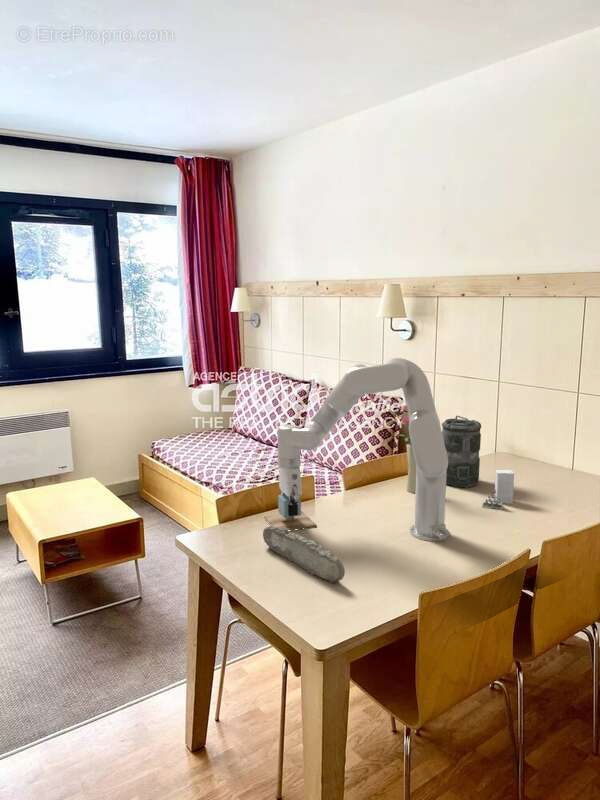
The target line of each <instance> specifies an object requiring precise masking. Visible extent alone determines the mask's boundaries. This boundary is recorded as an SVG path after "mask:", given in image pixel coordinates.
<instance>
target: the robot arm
mask: <svg viewBox="0 0 600 800" xmlns="http://www.w3.org/2000/svg"><path fill="white" fill-rule="evenodd" d="M400 389H401V390H402V392H403V396H404V401H405V405H407V409H408V410H407V414H408V416H409V426H408V428H409V431H408V434H410V435H409V440H410V439H411V440H410V444H411V443H412V447H413V452H414V456H415V460H416V493H415V499H414V500H415V501H414V503H415V505H414V524H413V525H412V526H410V528H409V534H410V535H411V536H412V537H414V538H415V539H418V540H421V541H426V542H440V541H444V540H447V539H448V538H449V537H450V532H449V529H448V528H447V527H446V524H445V521H446V520H445V519H446V516H445V515H446V495H447V494H446V492H447V485H446V470H447V467H448V455H447V450H446V448H445V445H444V440H443V436H442V427H441V421H440V419H439V416H438V413H437V410H436V406H435V401H434V397H433V392H432V389H431V386H430V383H429V380H428V378H427V376H426V373H425V372H424V371H423V370H422V368H421V367H420V366H419V365H418V364H416V363H414V362H413V361H411V360H409V359H406V358H401V357H394V358H391V359H389V360H388V361H386V362H385V363H381V364H377V365H371V366H370V365H369V366H368V365H367V366H366V365H365V364H361V363H360V364H359V363H357V364H354V365H353V366H351V367H349V369H348V370H347V371H346V373H345V374H344V375H343V377H342V378H341V379H340V380H339V381H338V383H337V384H336V385H335V387H334V388H332V389H331V392H330V393H329V394H328V395H327V396H326V398H325V400H324V402H323V404H322V405H321V407H320V408H319V409H318V410H317V412H316V413H315V414H314V416H313V417H312V418H311V419H310V420H309V422H308V423H307V424H306V425H305V426H304V427H303V428H300V427H299V426H297V425H296V424H283V425H280V426H279V427H278V428H277V466H278V469H279V471H278V485H279V490H280V492H281V493H280V495H285V494H286V495H287V496H288V497H289V504H290V505H288V515H289V516H295V515H298V501H299V498H300V496H302V494H303V493H302V477H301V475H302V474H301V469H300V466H301V450H304V451H310V452H311V451H315V450H316V449H318V448H319V446H320V445H321V443H322V442H323V440H324V439H325V438H326V436H327V435H328V434H329V433H330V432H331V430H332V429H333V428H334V426H336V424H337V423H338V422H339V421H340V420H341V419H342V418H344V417H346V415H347V414H348V413H349V412H350V411H351V410H352V409H353V407H354V405H356V404H357V402H358V401H359V400H360V399H361V397H362V396H363V395H370V394H371V395H372V394H377V393H384V392H385V393H386V392H393V391H397V390H400ZM291 494H294V495H292V496H291ZM291 497H294V499H292V500H291Z"/></svg>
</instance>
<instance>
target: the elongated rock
mask: <svg viewBox="0 0 600 800" xmlns="http://www.w3.org/2000/svg"><path fill="white" fill-rule="evenodd" d="M262 537H263V542H264V543H265V544H266V545H267V546H268V548H269V549H271V550H272V551H273V552H274V553H276V554H278V555H280V556H282V557H283V558H285V559H287V560H288V561H289V562H292V561H293V562H292V563H293V564H295V565H297V566H298V567H300V568H301V569H304V570H306V571H307V572H308V573H310V575H311V576H317V577H319V578H320V579H323V580H325V581H327V582H330V583H331V584H333V583H336V582H339V581H341V580H343V579H344V577H345V574H346V573H345V572H346V570H345V567H344V563H342V561H341V560H340V558H338V556H336V555H335V554H334V553H332V551H331V550H329V549H327V548H326V547H325V546H323V544H322V545H321V544H320V543H318V541H316V540H313V539H310V538H306V537H304V536H302V535H299V534H296V533H295V532H293V531H288V530H283V529H282V528H279V527H275V526H271V525H269V526H266V527H265V528H264V529H263V530H262Z"/></svg>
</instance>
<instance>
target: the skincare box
mask: <svg viewBox="0 0 600 800" xmlns="http://www.w3.org/2000/svg"><path fill="white" fill-rule="evenodd" d="M494 479H495V480H494V481H495V482H494V489H495V491H496V497H498V498H499V500H500V501H501V502H502V504H507V505H509V504H510V505H511V504H514V491H515V490H514V486H515V485H514V484H515V472H514V471H513V470H511V469H496V470H495V477H494ZM495 491H494V492H495ZM498 498H495V499H496V500H497V501H499V500H498Z"/></svg>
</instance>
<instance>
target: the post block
mask: <svg viewBox="0 0 600 800" xmlns="http://www.w3.org/2000/svg"><path fill="white" fill-rule="evenodd" d="M263 518H265V519H266V520H267V521H268V522H269V523H270V524H271V525H272V526H275V527H279V528H282V529H283V530H295V529H301V530H304V529H303V528H307V529H311V527H313V528H317V526H318V525H317V524H316V523H315V522H314V521H313V520H312V519H311V518H310V517H309V516H308V515H306V514H305V513H304V512H303V511H302V510H301V516H295V517H288V518H284V517H283V516H282V515H281V514H280V513H279V514H273V515H272V514H271V515H265V516H264V517H263ZM265 519H264V520H265ZM266 520H265V521H266ZM267 521H266V522H267ZM268 522H267V523H268ZM269 523H268V524H269ZM270 524H269V525H270ZM271 525H270V526H271ZM295 531H296V530H295Z"/></svg>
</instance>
